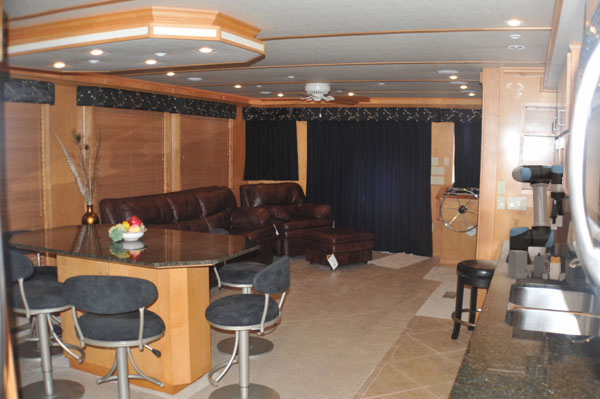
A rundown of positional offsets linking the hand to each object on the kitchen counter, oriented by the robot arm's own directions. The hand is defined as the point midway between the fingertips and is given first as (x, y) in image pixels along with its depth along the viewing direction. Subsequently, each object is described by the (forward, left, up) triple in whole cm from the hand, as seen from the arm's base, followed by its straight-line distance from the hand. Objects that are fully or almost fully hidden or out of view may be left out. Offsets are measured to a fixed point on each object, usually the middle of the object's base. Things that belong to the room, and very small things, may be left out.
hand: (556, 228), depth 307 cm
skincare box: (+23, -15, -28) cm, 39 cm away
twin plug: (+15, -6, -27) cm, 31 cm away
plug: (+15, +3, -27) cm, 31 cm away
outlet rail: (+15, -2, -27) cm, 31 cm away
